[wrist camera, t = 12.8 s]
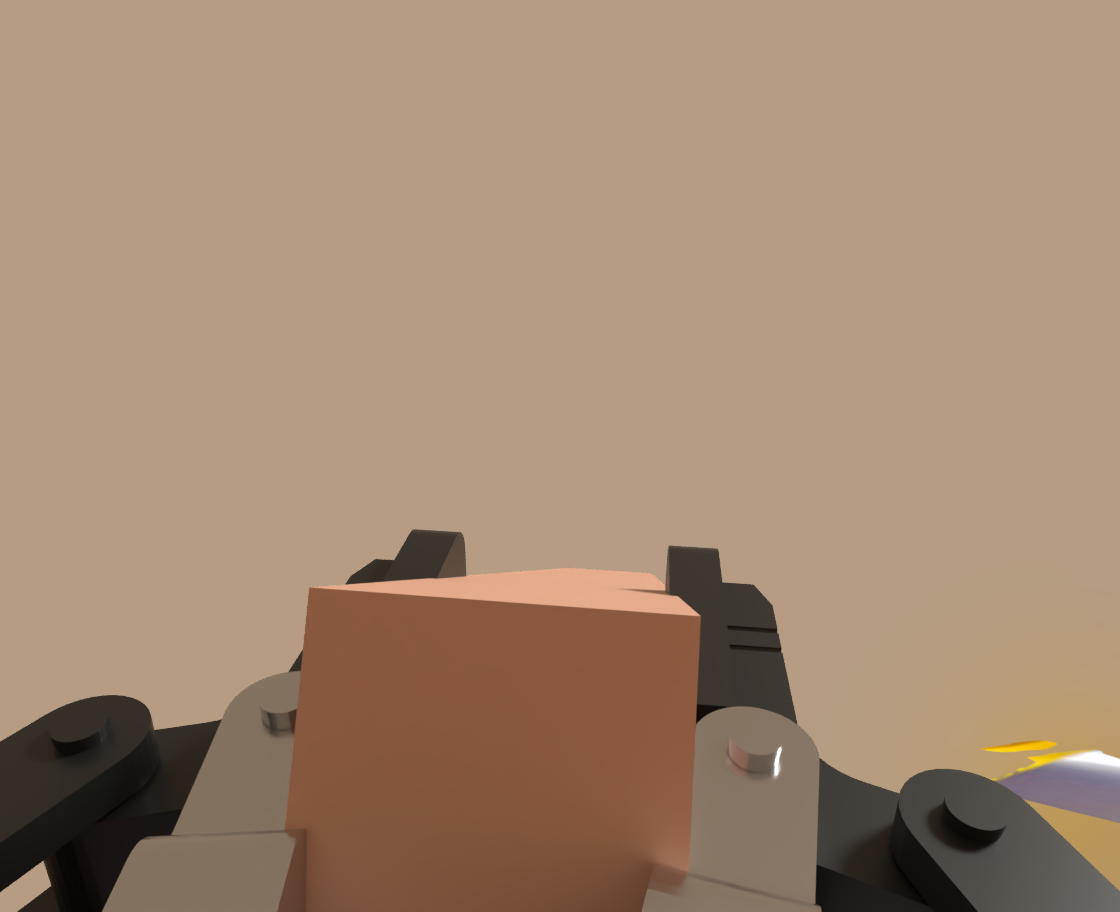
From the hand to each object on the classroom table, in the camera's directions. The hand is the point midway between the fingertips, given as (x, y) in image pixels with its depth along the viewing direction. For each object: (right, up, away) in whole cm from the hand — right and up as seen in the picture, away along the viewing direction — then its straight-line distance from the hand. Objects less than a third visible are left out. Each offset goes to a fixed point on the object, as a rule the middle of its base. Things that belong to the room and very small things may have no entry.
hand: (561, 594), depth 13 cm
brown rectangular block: (0, -4, +7) cm, 8 cm away
